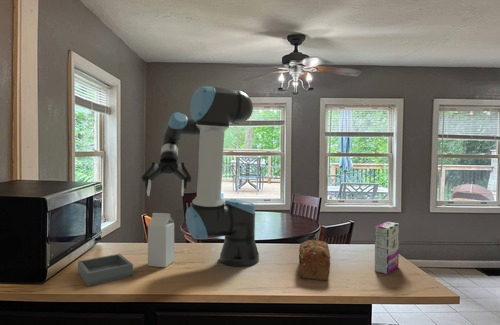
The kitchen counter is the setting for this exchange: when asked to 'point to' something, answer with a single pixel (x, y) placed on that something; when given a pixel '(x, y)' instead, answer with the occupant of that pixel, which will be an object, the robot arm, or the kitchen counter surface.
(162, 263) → the milk carton
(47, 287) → the kitchen counter surface
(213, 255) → the kitchen counter surface
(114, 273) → the bin
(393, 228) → the candy bar box
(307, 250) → the bread
